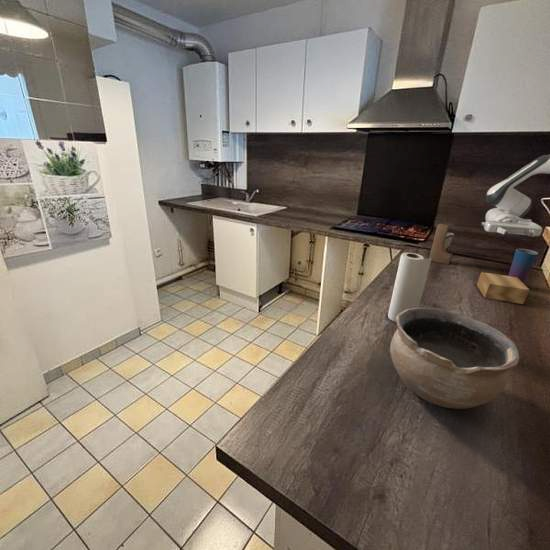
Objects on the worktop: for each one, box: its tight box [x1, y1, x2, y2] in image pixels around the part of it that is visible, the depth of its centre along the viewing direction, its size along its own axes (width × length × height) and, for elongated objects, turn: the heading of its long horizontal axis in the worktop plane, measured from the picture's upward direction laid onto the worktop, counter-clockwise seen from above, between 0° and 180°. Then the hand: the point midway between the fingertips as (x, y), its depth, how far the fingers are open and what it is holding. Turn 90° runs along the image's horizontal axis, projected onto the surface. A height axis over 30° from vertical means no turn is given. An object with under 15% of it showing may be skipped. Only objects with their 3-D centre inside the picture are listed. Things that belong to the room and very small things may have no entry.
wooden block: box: [428, 223, 453, 265], centre depth 139 cm, size 9×4×18 cm, turn 53°
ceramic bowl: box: [389, 307, 520, 410], centre depth 63 cm, size 22×22×15 cm
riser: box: [476, 271, 530, 305], centre depth 110 cm, size 12×12×6 cm
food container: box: [444, 232, 455, 252], centre depth 156 cm, size 12×6×10 cm, turn 130°
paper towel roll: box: [387, 252, 432, 323], centre depth 88 cm, size 7×6×21 cm
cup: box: [507, 248, 539, 284], centre depth 116 cm, size 7×7×15 cm
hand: (519, 233), depth 120 cm, fingers open, 8 cm apart
